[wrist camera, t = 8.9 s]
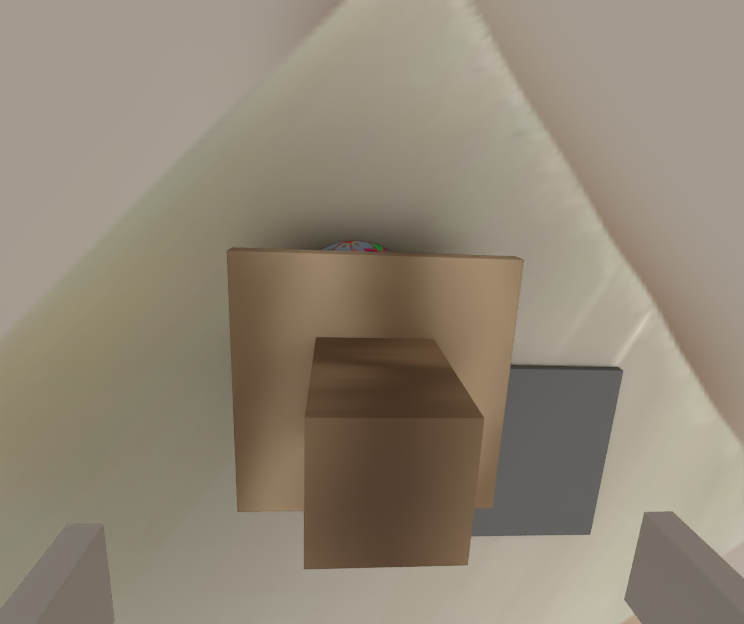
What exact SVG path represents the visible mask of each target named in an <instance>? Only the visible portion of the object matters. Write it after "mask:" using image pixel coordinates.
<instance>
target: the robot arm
mask: <svg viewBox="0 0 744 624" xmlns="http://www.w3.org/2000/svg"><path fill="white" fill-rule="evenodd" d="M624 600H625V601H626V602H627V604H628V605H629V607H630V608H631V609H632V611H633V612H634V614H635V615H636V616H637V618H638V619H639V620H640V622H641V623H642V624H744V578H743V577H742V576H741V575H739V574H738V573H737V572H736V571H735V570H734V569H733V568H732V567H731V566H730V565H729V564H728V563H727V562H726V561H725V560H723V558H721V557H720V556H719V555H718V554H717V553H716V552H715V551H714V550H713V549H712V548H711V547H710V546H709V545H708V544H707V543H705V542H704V541H703V540H702V539H701V538H700V537H699V536H698V535H697V534H696V533H695V532H694V531H693V530H692V529H690V528H689V527H688V526H687V525H686V524H685V523H684V522H683V521H682V520H681V519H680V518H679V517H678V516H677V515H676V514H674V513H673V512H644V516H643V521H642V525H641V529H640V534H639V538H638V542H637V547H636V551H635V555H634V560H633V564H632V568H631V573H630V577H629V582H628V586H627V590H626V595H625V599H624ZM113 623H114V612H113V604H112V595H111V587H110V578H109V570H108V561H107V553H106V544H105V536H104V527H103V524H74V525H67V526H66V527H65V528H64V530H63V531H62V532H61V533H60V535H59V536H58V537H57V538H56V540H55V541H54V542H53V544H52V545H51V546H50V547H49V549H48V550H47V551H46V553H45V554H44V555H43V556H42V558H41V559H40V560H39V561H38V563H37V564H36V565H35V567H34V568H33V569H32V570H31V572H30V573H29V574H28V576H27V577H26V578H25V579H24V581H23V582H22V583H21V584H20V586H19V587H18V588H17V590H16V591H15V592H14V593H13V595H12V596H11V597H10V599H9V600H8V601H7V602H6V604H5V605H4V606H3V608H2V609H1V610H0V624H113Z"/></svg>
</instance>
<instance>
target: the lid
mask: <svg viewBox="0 0 744 624" xmlns="http://www.w3.org/2000/svg"><path fill="white" fill-rule="evenodd" d="M523 262H524V260H523V259H520V258H518V257H515V256H487V255H455V254H423V253H391V252H359V251H328V250H296V249H264V248H231V249H229V250H227V264H228V289H229V314H230V338H231V363H232V388H233V412H234V437H235V462H236V486H237V511H238V512H262V511H304V569H334V568H375V567H416V566H456V565H468V558H469V549H470V540H471V532H472V523H473V514H474V508H492V507H493V499H494V491H495V483H496V475H497V467H498V459H499V451H500V444H501V436H502V428H503V420H504V412H505V404H506V396H507V388H508V380H509V373H510V365H511V357H512V349H513V341H514V333H515V325H516V317H517V310H518V302H519V294H520V286H521V278H522V270H523Z"/></svg>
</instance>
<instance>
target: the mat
mask: <svg viewBox="0 0 744 624" xmlns="http://www.w3.org/2000/svg"><path fill="white" fill-rule="evenodd" d="M622 374H623V370H621V369H620V368H618V367H562V366H510V373H509V380H508V388H507V396H506V404H505V412H504V420H503V428H502V436H501V444H500V451H499V459H498V467H497V475H496V483H495V491H494V499H493V507H492V508H474V514H473V523H472V532H471V536H522V535H590V533H591V528H592V523H593V518H594V513H595V508H596V503H597V498H598V493H599V488H600V483H601V478H602V473H603V468H604V463H605V458H606V454H607V449H608V444H609V439H610V434H611V429H612V424H613V419H614V414H615V409H616V404H617V399H618V394H619V389H620V384H621V379H622Z"/></svg>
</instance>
